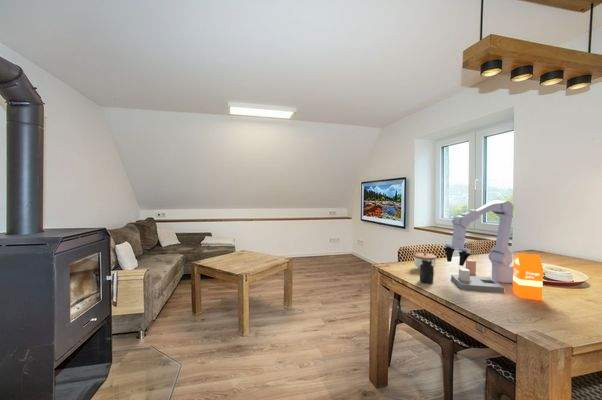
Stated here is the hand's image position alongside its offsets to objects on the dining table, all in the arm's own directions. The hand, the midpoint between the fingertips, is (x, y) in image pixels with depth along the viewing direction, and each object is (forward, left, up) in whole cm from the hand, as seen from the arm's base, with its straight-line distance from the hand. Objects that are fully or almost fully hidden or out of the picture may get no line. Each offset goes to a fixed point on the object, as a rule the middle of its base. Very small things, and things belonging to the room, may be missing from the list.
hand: (455, 263), depth 146 cm
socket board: (-10, +1, -11) cm, 15 cm away
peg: (-15, -21, -11) cm, 28 cm away
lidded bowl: (+10, -23, -11) cm, 27 cm away
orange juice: (-28, +11, -11) cm, 32 cm away
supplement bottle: (+14, +1, -11) cm, 18 cm away
